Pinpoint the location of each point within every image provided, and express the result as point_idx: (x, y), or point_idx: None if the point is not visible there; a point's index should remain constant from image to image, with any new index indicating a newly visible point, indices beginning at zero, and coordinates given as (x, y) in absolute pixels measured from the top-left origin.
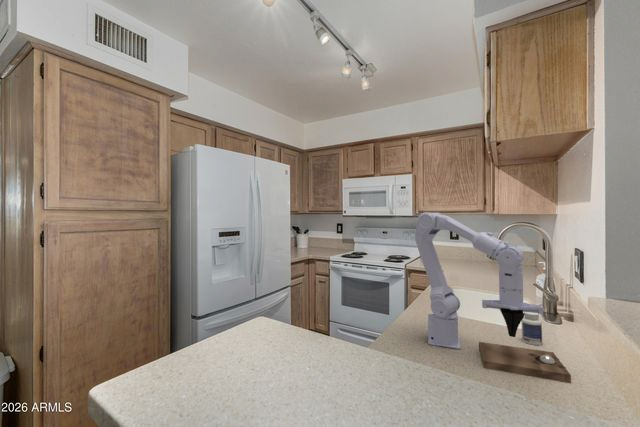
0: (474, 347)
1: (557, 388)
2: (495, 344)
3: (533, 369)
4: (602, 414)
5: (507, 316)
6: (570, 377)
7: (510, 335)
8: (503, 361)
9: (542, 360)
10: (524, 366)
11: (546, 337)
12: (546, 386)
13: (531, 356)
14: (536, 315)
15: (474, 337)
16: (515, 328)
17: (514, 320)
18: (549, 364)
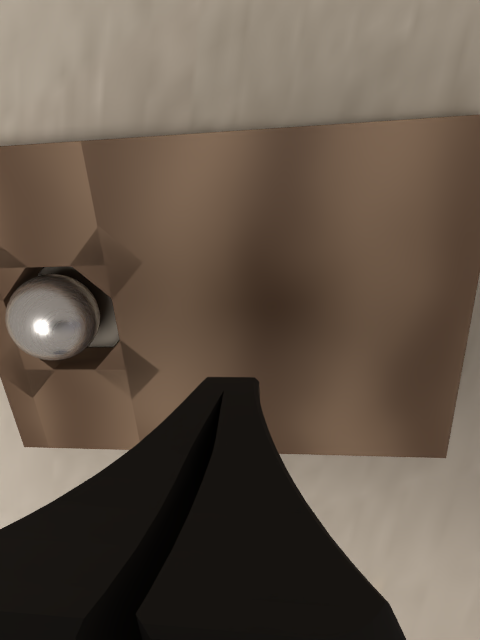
0: (459, 428)
1: (30, 19)
2: (335, 450)
3: (137, 138)
4: None
5: (277, 581)
6: None
7: (250, 380)
8: (335, 175)
9: (73, 298)
10: (192, 150)
11: None
12: (89, 12)
13: (135, 348)
14: None
15: (422, 553)
16: (176, 428)
17: (146, 516)
18: (40, 266)
